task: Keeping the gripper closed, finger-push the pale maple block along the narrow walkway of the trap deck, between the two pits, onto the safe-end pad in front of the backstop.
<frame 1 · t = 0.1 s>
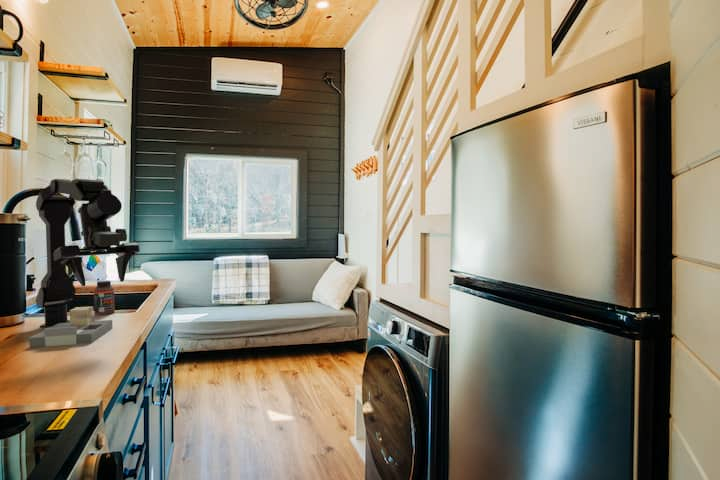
hand: (103, 283, 110), 15 cm above the table, tool pointing down, fingers open, 9 cm apart
trap deck: (74, 337, 117), on the table
supplement bottle: (104, 314, 147), on the table
maple block: (82, 323, 122), point 2 cm above the table, touching trap deck
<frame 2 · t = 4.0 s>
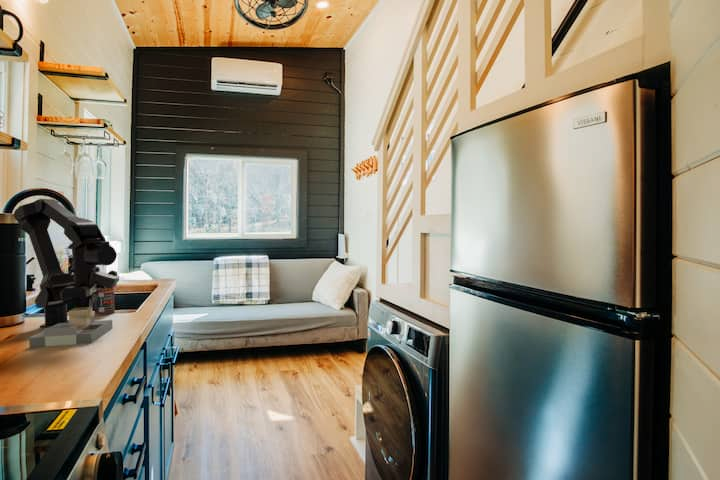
hand: (87, 317, 125), 4 cm above the table, tool pointing down, fingers closed
maple block: (81, 324, 121), point 3 cm above the table, touching gripper, trap deck
everything else where it was.
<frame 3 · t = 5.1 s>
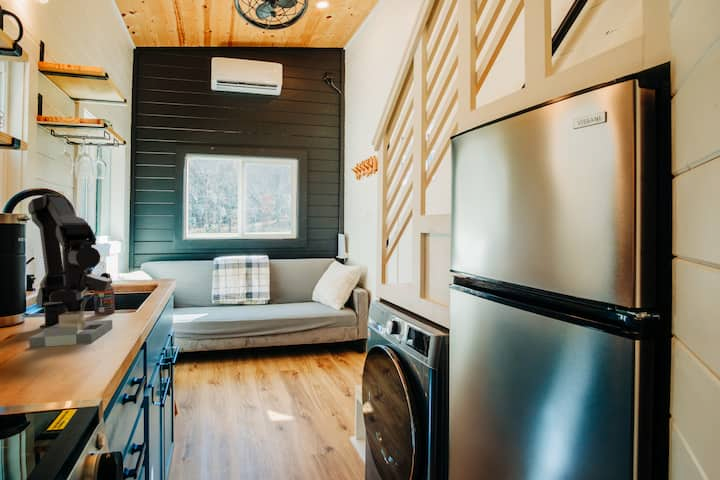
hand: (78, 321, 119), 4 cm above the table, tool pointing down, fingers closed
maple block: (72, 329, 115), point 3 cm above the table, touching gripper, trap deck
everything else where it was.
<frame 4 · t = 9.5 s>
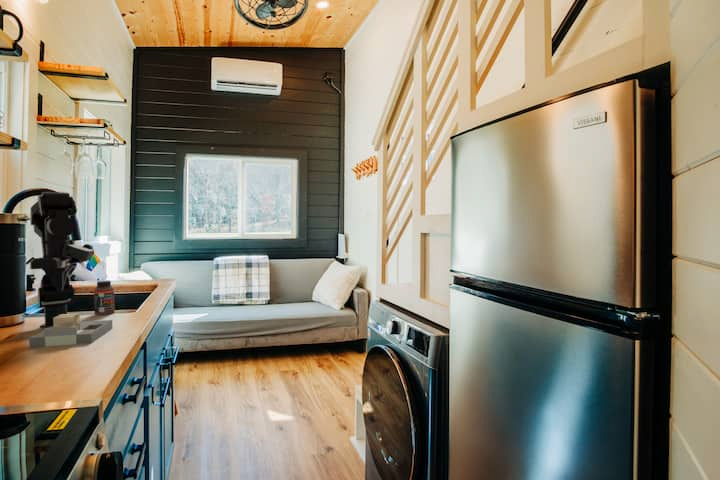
hand: (60, 290, 122), 12 cm above the table, tool pointing down, fingers closed
maple block: (67, 332, 112), point 2 cm above the table, touching trap deck
everything else where it was.
at the end: maple block 0.4 cm from the target spot on the trap deck, point 2.5 cm above the trap deck's base; maple block tilted 0° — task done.
